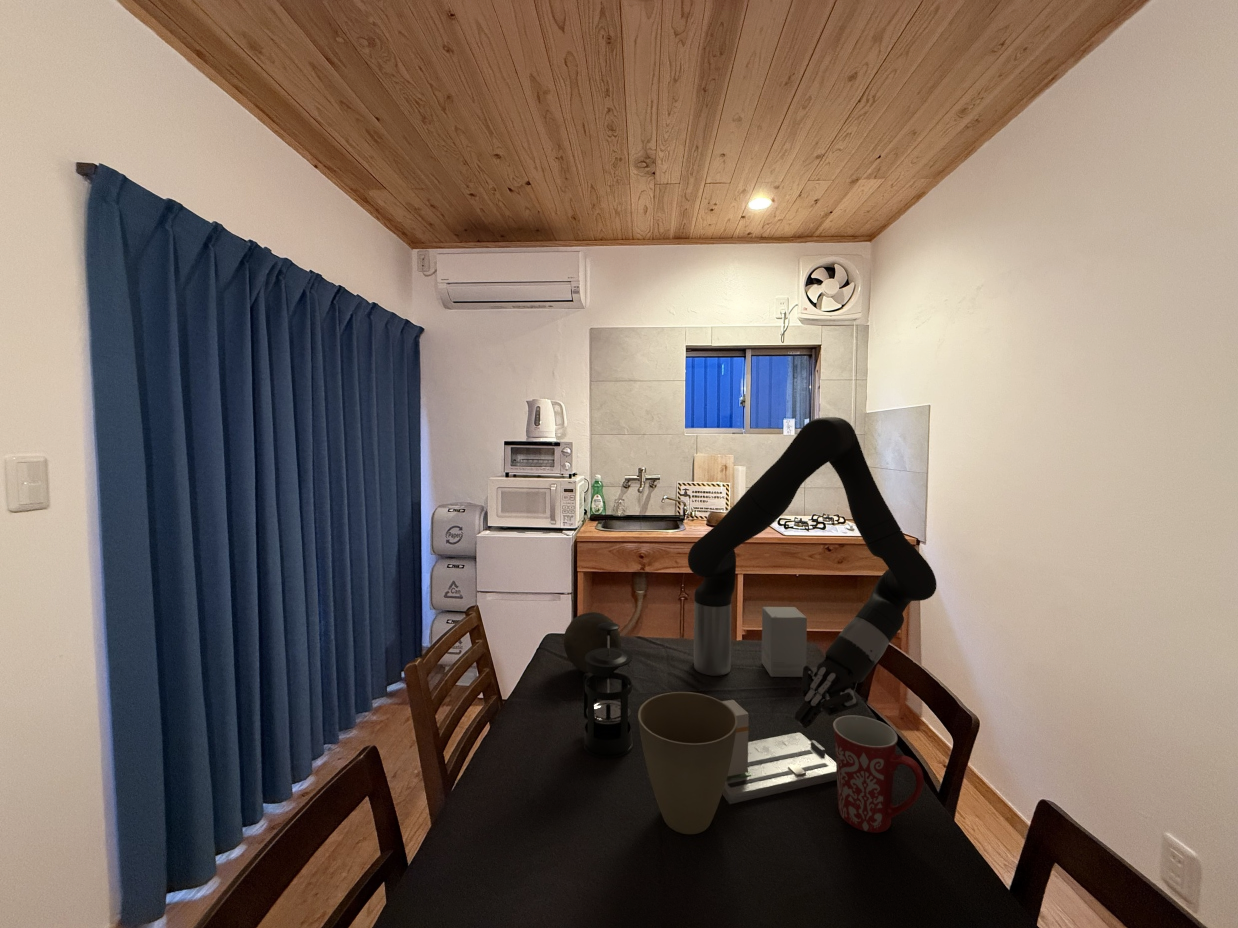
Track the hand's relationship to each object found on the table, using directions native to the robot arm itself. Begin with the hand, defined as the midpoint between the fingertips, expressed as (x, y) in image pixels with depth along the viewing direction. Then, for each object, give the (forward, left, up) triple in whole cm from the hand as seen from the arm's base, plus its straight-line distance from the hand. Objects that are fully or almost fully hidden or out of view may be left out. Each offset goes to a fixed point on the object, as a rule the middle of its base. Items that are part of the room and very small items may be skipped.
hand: (799, 723), depth 92 cm
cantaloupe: (-46, -27, -7) cm, 54 cm away
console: (0, -7, -7) cm, 10 cm away
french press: (-16, -32, -7) cm, 36 cm away
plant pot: (+7, -25, -7) cm, 27 cm away
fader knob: (0, -14, -5) cm, 15 cm away
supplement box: (-34, +20, -7) cm, 40 cm away
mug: (+16, +1, -7) cm, 18 cm away
